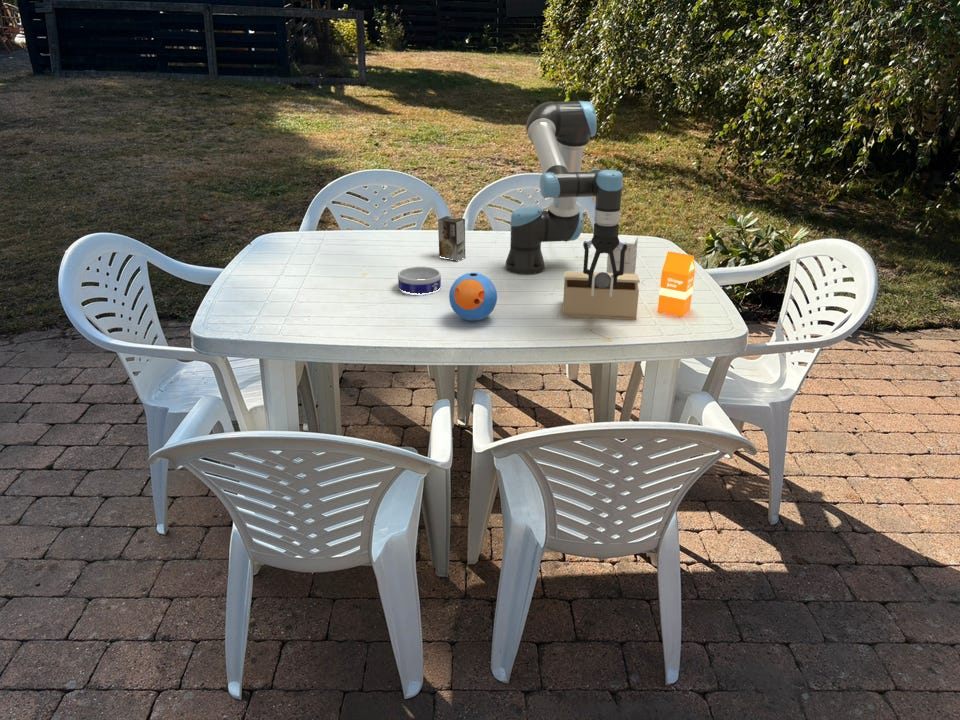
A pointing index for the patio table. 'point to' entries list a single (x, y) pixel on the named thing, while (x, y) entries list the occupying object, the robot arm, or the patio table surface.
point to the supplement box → (629, 255)
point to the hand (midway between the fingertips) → (601, 294)
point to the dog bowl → (412, 285)
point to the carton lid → (601, 277)
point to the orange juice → (676, 284)
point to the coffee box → (451, 237)
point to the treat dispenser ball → (473, 296)
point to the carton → (600, 300)
